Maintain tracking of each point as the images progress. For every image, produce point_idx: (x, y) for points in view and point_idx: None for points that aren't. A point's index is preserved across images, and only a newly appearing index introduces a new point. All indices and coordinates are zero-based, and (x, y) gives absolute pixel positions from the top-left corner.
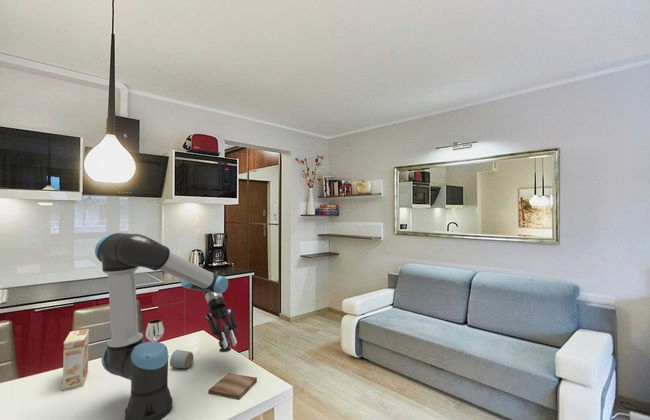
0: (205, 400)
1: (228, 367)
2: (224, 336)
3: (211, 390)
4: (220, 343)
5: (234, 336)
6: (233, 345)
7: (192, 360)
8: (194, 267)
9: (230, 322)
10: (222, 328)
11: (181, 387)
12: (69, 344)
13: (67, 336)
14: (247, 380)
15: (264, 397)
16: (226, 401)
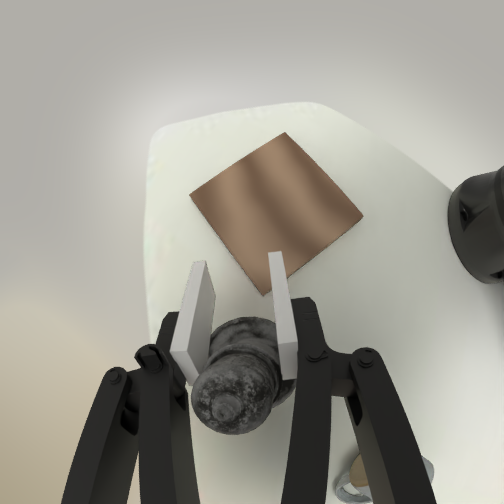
0: (372, 190)
1: None
2: (279, 305)
3: (354, 206)
4: None
5: (185, 298)
6: (214, 295)
7: (353, 468)
8: None
9: (143, 435)
10: (272, 397)
11: (423, 314)
12: None
13: None
14: (224, 194)
15: (220, 116)
16: (318, 150)
